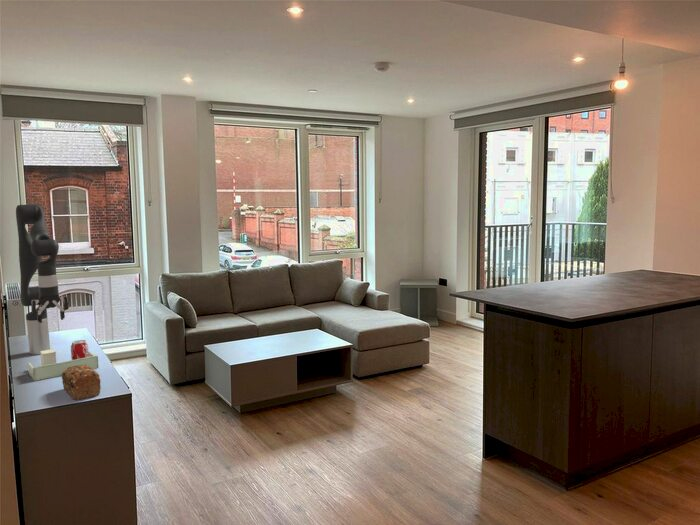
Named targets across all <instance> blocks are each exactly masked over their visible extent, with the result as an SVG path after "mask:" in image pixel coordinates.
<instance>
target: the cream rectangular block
mask: <svg viewBox="0 0 700 525" xmlns="http://www.w3.org/2000/svg"><path fill="white" fill-rule="evenodd" d="M40 353H41V354H40V363H41V366H44V365H49V364H54V363H57V355H56V354H57V351H56V350H54V349H53V348H52V349H51V348H50V350H45V351H40Z"/></svg>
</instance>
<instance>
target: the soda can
mask: <svg viewBox="0 0 700 525" xmlns="http://www.w3.org/2000/svg"><path fill="white" fill-rule="evenodd" d="M70 355H71V358H70V359H71V360H76V359H81V358H86V357H89V345H88V343H87V340H85V339H80V340H78V339H77V340H74V341H72V342H71V345H70Z"/></svg>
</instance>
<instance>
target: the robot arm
mask: <svg viewBox="0 0 700 525" xmlns="http://www.w3.org/2000/svg"><path fill="white" fill-rule="evenodd" d="M44 212H45V211H44V209H43V207H42V206H41V205H40V204H32V203H30V204H18V205H16V208H15V217H16V218H15V220H16V227H17V236H18V262H19V270H20V272H19V273H20V292H19V293H20V302H21V305H22V306H23V307H31V311H30V312H28V313H26V315H25V320H26V329H27V330H26V331H27V340H28V352H29V355H41V353H40V351H45V350H50V349H51V345H50V344H51V343H50V342H51V341H50V331H49V321H48V320H49V319H48V309H51V308H52V309H53V308H57V309H58V310H60V311H59V315H60V316H59V318H60V320H61V321H64V319H65V311H68V310H69V303H68V302H69V300H68V297H67V296H66V295H63V296H60V293H59V281H58V276H57V266H56V265H57V259H58V258H57V257H58V255H59V254H58V253H59V249H60V248H59V247H60V245H59V243H58V241H57V240H55V239H51V235H50V233H49V231H48V229H47V224H46V218H45V213H44ZM26 225H32V226H31V228H30V229H29V230H30V231H29V232H28V230H27V228H26ZM42 257H48V259H46V260H43V261H42ZM36 272H37V275H38V276H37V283H38V286H30V282H31V281H32V279H33V276H34V275H35V274H36ZM60 301H61V302H63V307H62V305H60V303H59V302H60Z"/></svg>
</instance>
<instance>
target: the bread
mask: <svg viewBox="0 0 700 525" xmlns="http://www.w3.org/2000/svg"><path fill="white" fill-rule="evenodd" d="M61 379H62V381H61V382H62V385H63V386H62V388H63V389H64V391H66V392H65V393H67V394H68V395H69V397H71V399H72V400H76V401H79V400H84V399H88V398H93V397H97V396H99V395H100V393H101V387H102V386H101V382H102V381H101V380H102V379H101V378H100V373H99V372H97V370H95V369H92V368H91V367H90V366H88V365H78V366H72V367H69V368H68V369H66V370H65V371H64V372H63V373H62V375H61Z"/></svg>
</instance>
